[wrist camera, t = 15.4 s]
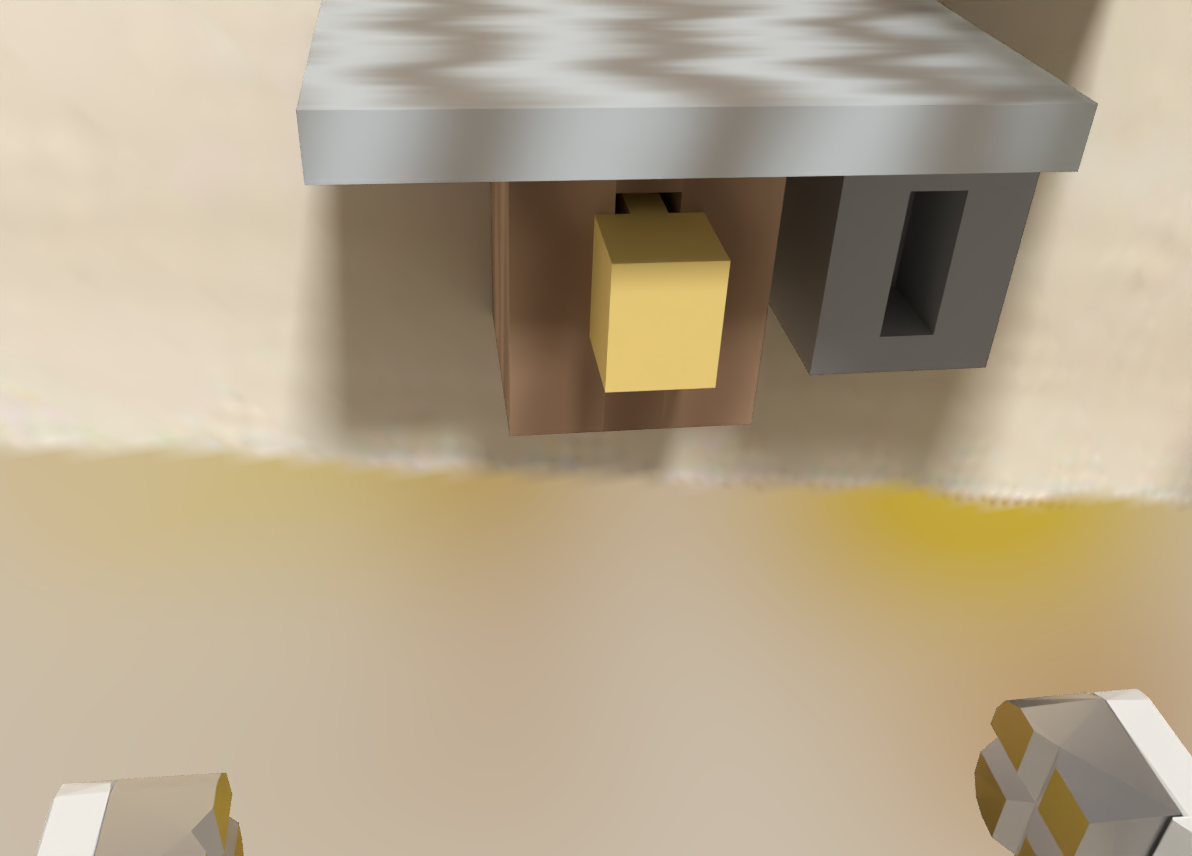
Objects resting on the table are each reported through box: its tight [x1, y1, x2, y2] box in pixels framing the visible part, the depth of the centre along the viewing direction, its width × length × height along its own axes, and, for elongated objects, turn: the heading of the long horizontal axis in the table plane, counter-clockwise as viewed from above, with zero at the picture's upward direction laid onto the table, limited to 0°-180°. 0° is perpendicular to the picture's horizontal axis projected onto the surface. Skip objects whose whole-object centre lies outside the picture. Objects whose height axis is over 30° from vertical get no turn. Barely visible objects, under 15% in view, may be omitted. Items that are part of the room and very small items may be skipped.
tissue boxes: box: [296, 0, 1098, 436], centre depth 42 cm, size 22×16×18 cm
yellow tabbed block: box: [589, 193, 730, 393], centre depth 41 cm, size 4×5×8 cm
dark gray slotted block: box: [769, 172, 1040, 375], centre depth 48 cm, size 8×10×8 cm
